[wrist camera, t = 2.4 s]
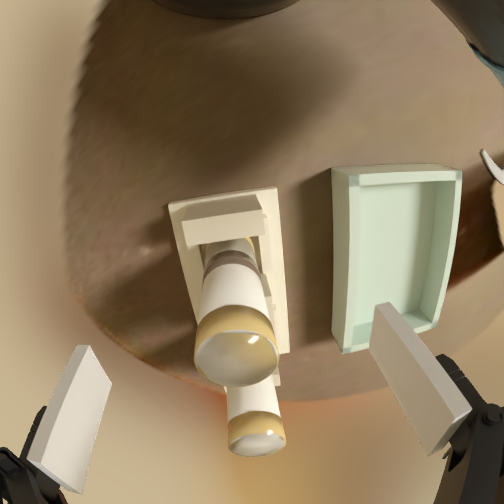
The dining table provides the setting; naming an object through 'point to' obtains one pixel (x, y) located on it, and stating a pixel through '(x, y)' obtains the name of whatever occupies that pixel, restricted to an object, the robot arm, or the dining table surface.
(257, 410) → the fuse
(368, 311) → the parts tray
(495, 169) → the pliers
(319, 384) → the dining table surface
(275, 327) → the fuse holder
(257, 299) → the fuse
